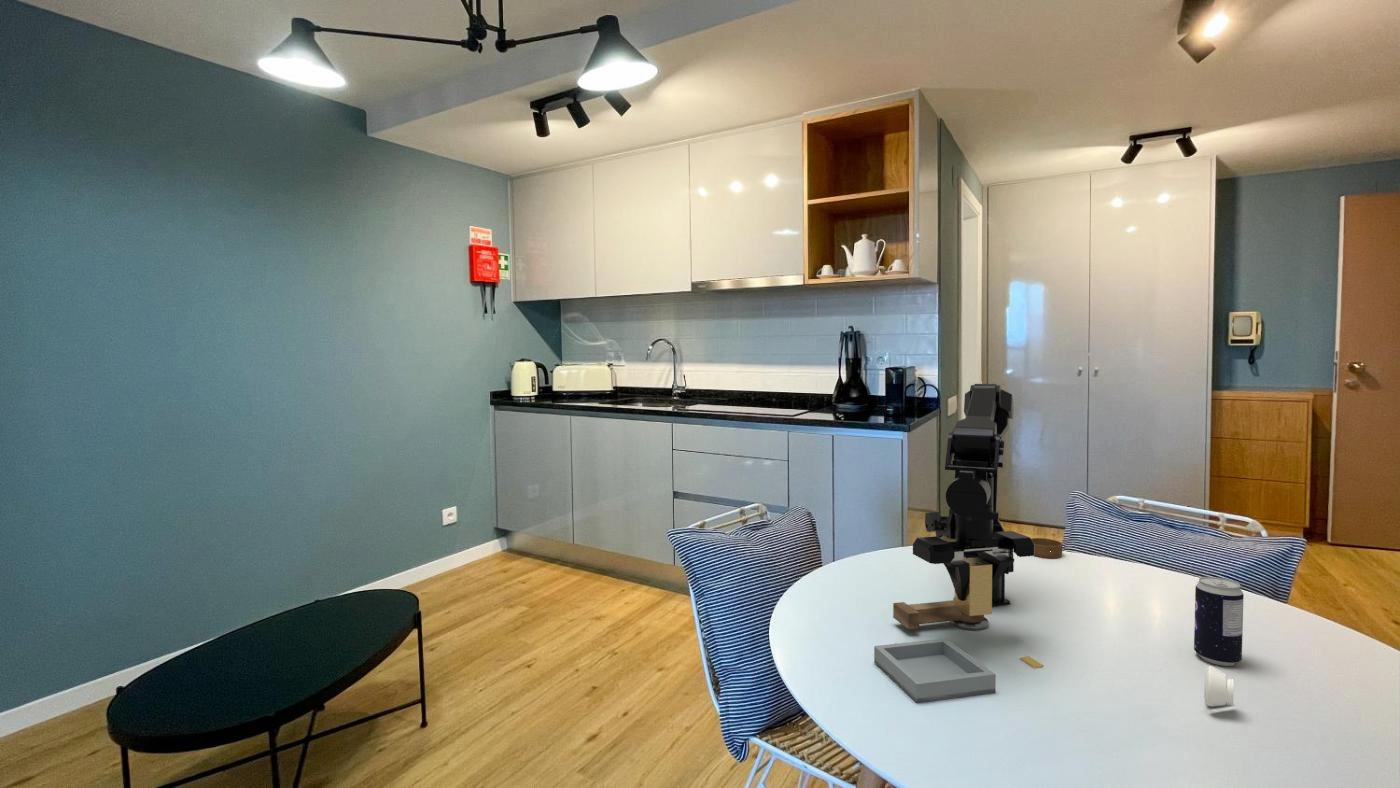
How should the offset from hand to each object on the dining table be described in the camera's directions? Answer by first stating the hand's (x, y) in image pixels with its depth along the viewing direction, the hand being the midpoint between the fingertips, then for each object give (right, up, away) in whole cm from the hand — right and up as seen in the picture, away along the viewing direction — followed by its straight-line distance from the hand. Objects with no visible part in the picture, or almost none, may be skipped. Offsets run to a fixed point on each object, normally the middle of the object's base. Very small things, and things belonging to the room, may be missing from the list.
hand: (972, 598), depth 105 cm
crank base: (+4, -7, +1) cm, 8 cm away
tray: (-11, -8, -11) cm, 17 cm away
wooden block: (0, -2, 0) cm, 2 cm away
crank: (-3, -6, +7) cm, 9 cm away
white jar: (+24, -8, -20) cm, 32 cm away
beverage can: (+34, -7, -7) cm, 36 cm away
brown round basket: (+34, -5, +47) cm, 58 cm away
